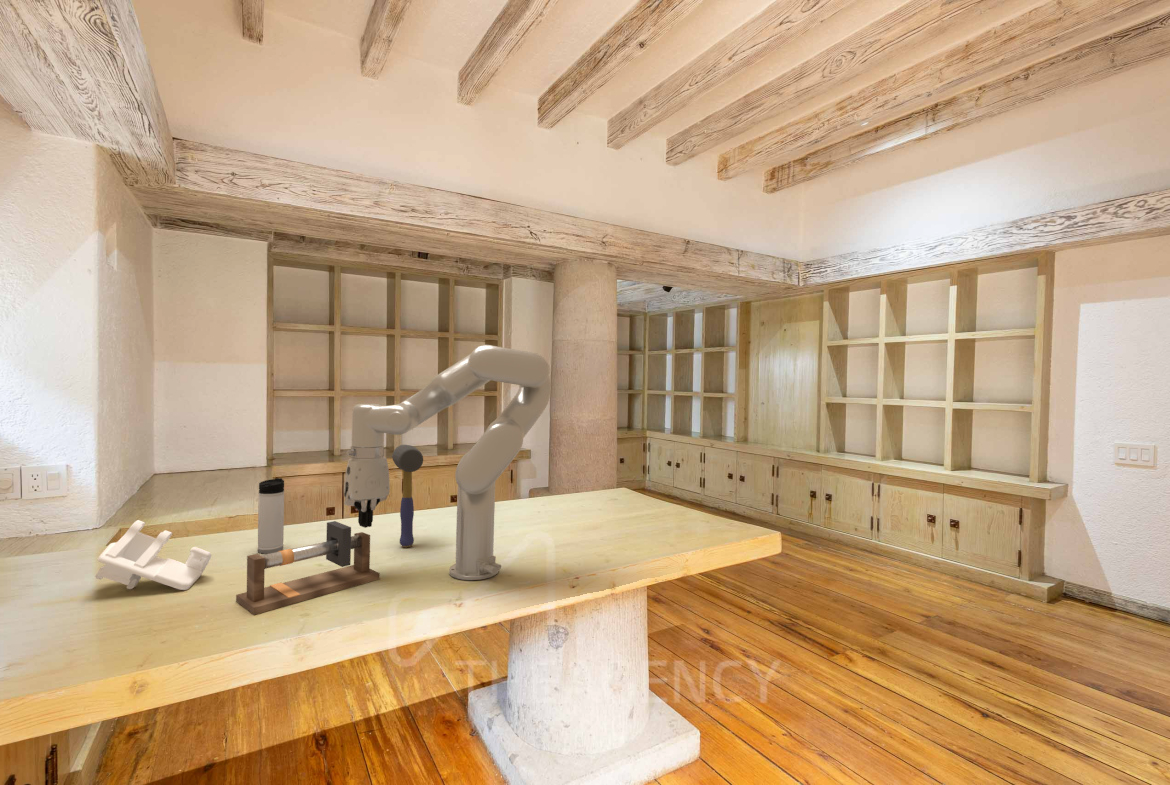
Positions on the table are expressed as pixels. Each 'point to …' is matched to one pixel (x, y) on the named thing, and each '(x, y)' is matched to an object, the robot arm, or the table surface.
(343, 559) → the collar
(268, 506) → the travel mug
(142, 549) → the white angular bracket piece
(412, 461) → the rubber mallet
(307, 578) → the pipe stand
